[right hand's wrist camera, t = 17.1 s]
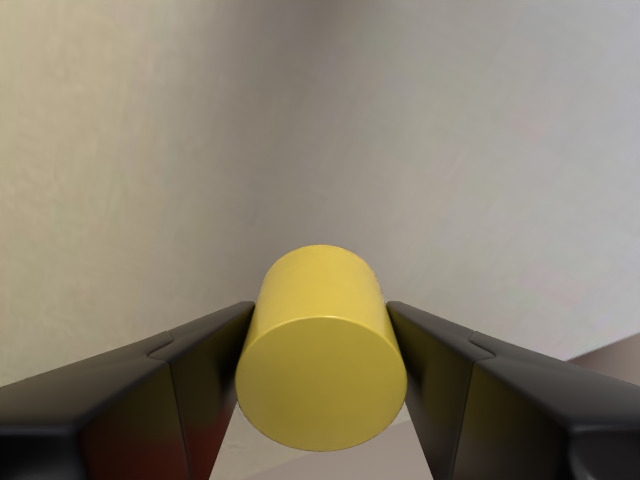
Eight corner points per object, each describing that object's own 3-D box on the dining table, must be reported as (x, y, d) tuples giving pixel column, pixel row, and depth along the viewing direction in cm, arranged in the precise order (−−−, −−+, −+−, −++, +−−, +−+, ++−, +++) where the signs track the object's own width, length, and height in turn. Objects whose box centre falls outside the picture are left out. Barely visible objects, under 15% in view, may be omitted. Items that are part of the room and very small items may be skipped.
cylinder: (400, 318, 13) (435, 414, 9) (299, 365, 14) (291, 472, 10) (345, 222, 12) (358, 285, 8) (236, 279, 12) (198, 364, 8)
